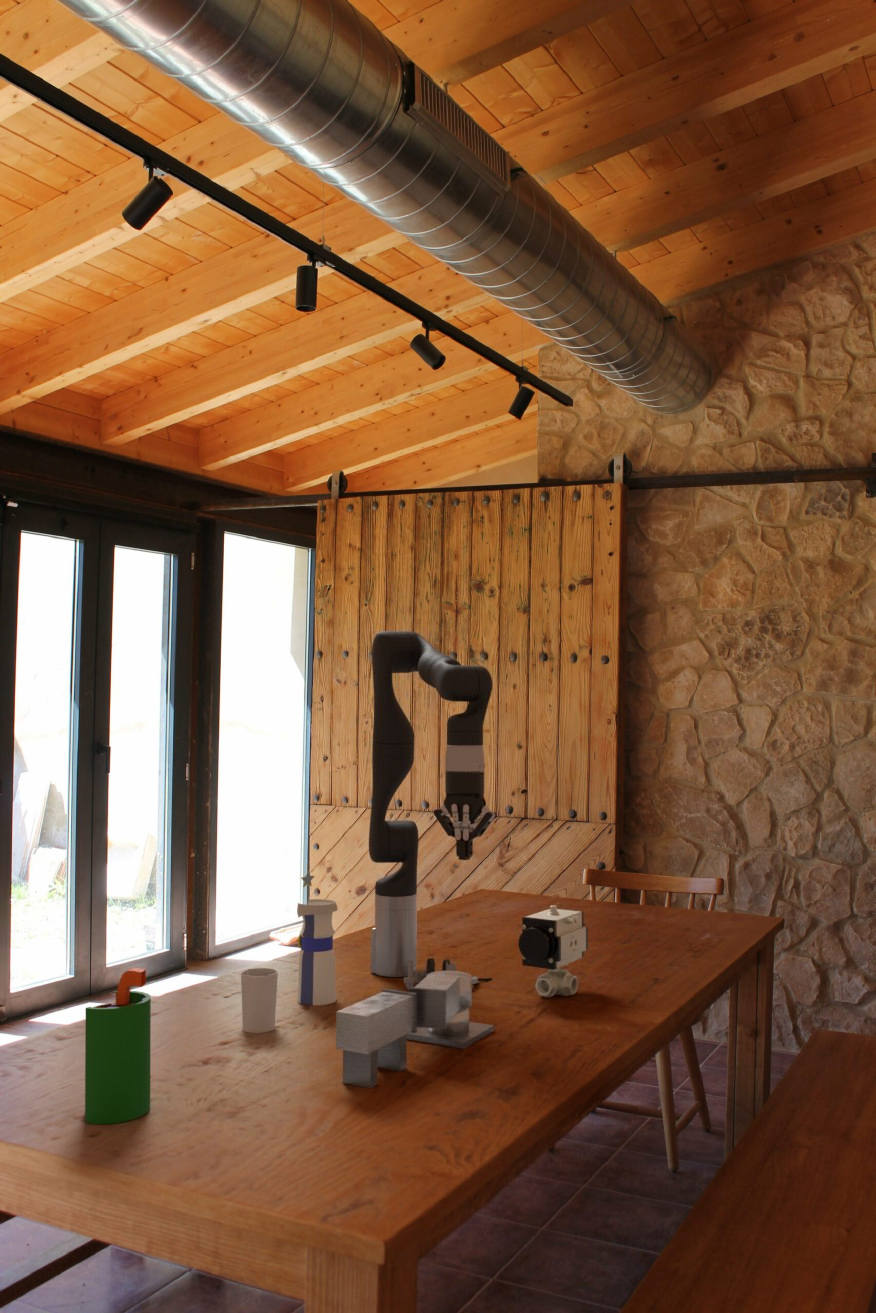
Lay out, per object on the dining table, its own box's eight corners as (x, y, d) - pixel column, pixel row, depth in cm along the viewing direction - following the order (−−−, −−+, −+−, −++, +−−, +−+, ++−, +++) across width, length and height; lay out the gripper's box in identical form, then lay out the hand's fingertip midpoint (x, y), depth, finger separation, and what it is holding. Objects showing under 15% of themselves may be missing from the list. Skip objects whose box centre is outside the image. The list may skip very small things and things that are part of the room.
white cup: (263, 1020, 202) (263, 966, 202) (284, 1028, 197) (285, 972, 198) (232, 1027, 197) (233, 971, 198) (254, 1035, 193) (254, 978, 193)
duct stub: (402, 1038, 191) (402, 1009, 191) (434, 1021, 202) (435, 994, 202) (463, 1048, 186) (463, 1018, 186) (493, 1030, 196) (493, 1002, 196)
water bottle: (285, 1002, 215) (287, 874, 216) (310, 993, 222) (311, 869, 224) (320, 1008, 211) (321, 877, 212) (344, 998, 219) (345, 872, 220)
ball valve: (555, 1006, 213) (555, 914, 214) (517, 1000, 217) (517, 910, 218) (594, 987, 228) (593, 901, 229) (557, 982, 232) (557, 897, 233)
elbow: (432, 997, 199) (433, 963, 199) (475, 1000, 197) (475, 965, 197) (403, 1025, 181) (403, 987, 181) (450, 1029, 179) (450, 991, 179)
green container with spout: (93, 1099, 160) (96, 961, 161) (155, 1097, 161) (158, 960, 162) (76, 1125, 150) (80, 977, 151) (143, 1123, 151) (146, 976, 152)
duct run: (368, 1091, 164) (369, 1014, 165) (334, 1085, 167) (334, 1009, 168) (416, 1064, 177) (417, 992, 178) (383, 1058, 180) (384, 988, 181)
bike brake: (460, 997, 217) (492, 990, 235) (461, 962, 218) (493, 957, 236) (397, 992, 222) (433, 985, 240) (398, 957, 223) (434, 953, 241)
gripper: (425, 768, 210) (424, 859, 209) (487, 770, 204) (487, 864, 203) (443, 767, 217) (443, 855, 216) (504, 768, 211) (504, 859, 210)
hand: (464, 859), depth 209 cm, fingers closed
